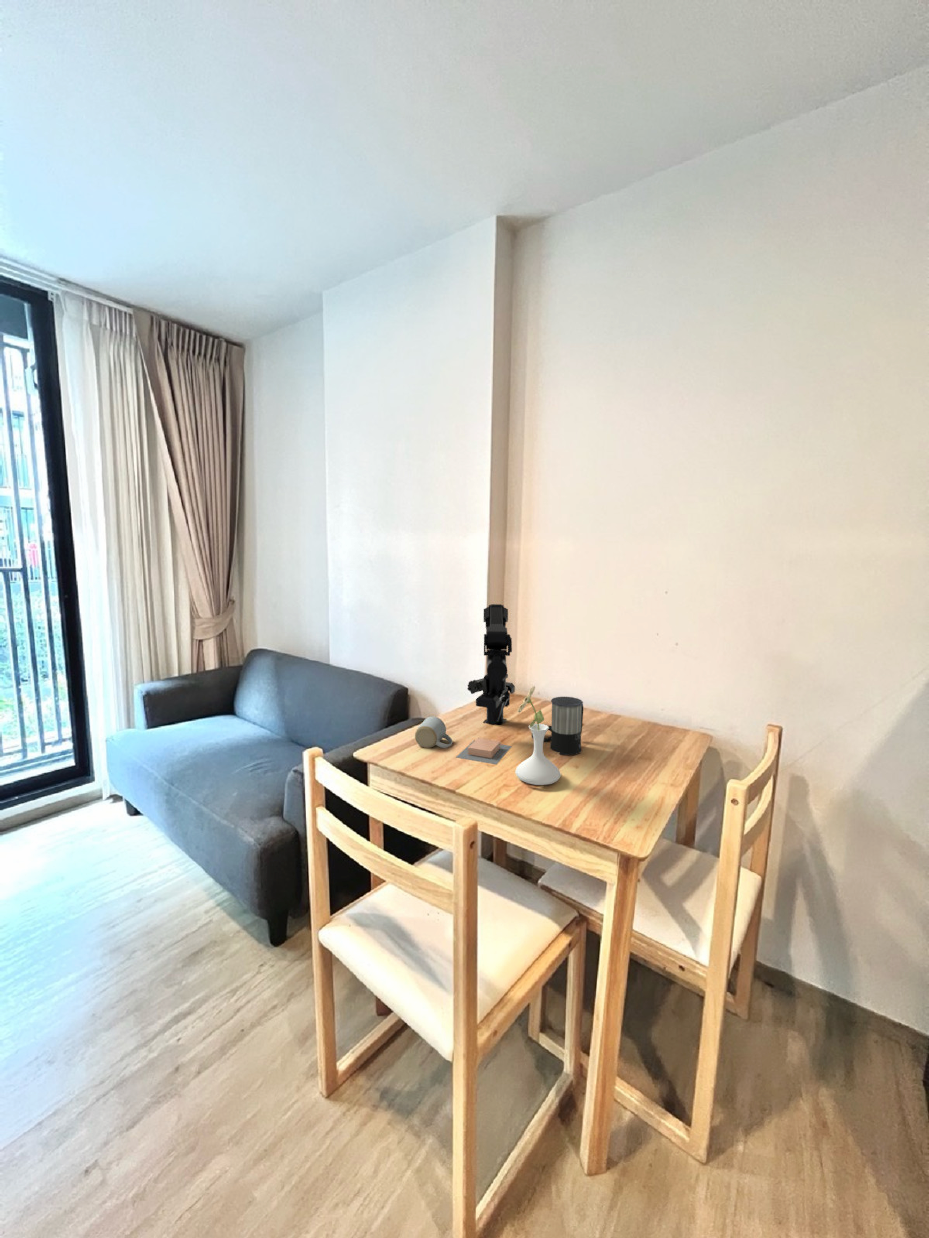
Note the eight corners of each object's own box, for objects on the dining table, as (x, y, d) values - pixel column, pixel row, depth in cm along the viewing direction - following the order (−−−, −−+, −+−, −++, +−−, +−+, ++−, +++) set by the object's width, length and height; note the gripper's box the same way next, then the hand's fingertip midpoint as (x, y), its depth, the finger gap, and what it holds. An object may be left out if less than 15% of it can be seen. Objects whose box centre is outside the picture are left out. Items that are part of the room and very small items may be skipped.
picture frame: (478, 737, 146) (467, 747, 138) (500, 741, 143) (491, 751, 136) (478, 744, 146) (467, 754, 139) (500, 748, 143) (491, 758, 136)
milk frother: (579, 758, 138) (581, 706, 136) (524, 750, 143) (525, 701, 141) (584, 740, 151) (586, 693, 149) (534, 734, 157) (535, 688, 155)
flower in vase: (530, 765, 133) (532, 675, 130) (568, 777, 126) (571, 682, 122) (502, 782, 123) (503, 685, 120) (542, 797, 116) (544, 693, 112)
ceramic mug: (413, 748, 145) (413, 723, 144) (422, 738, 152) (423, 714, 151) (447, 752, 142) (448, 727, 141) (455, 742, 150) (456, 718, 149)
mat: (474, 741, 150) (474, 740, 150) (511, 747, 145) (511, 746, 145) (455, 758, 137) (455, 757, 137) (496, 766, 132) (496, 764, 132)
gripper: (482, 662, 159) (482, 708, 161) (459, 676, 142) (459, 727, 144) (515, 665, 155) (514, 713, 157) (495, 680, 138) (494, 733, 140)
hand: (495, 721), depth 150 cm, fingers closed
